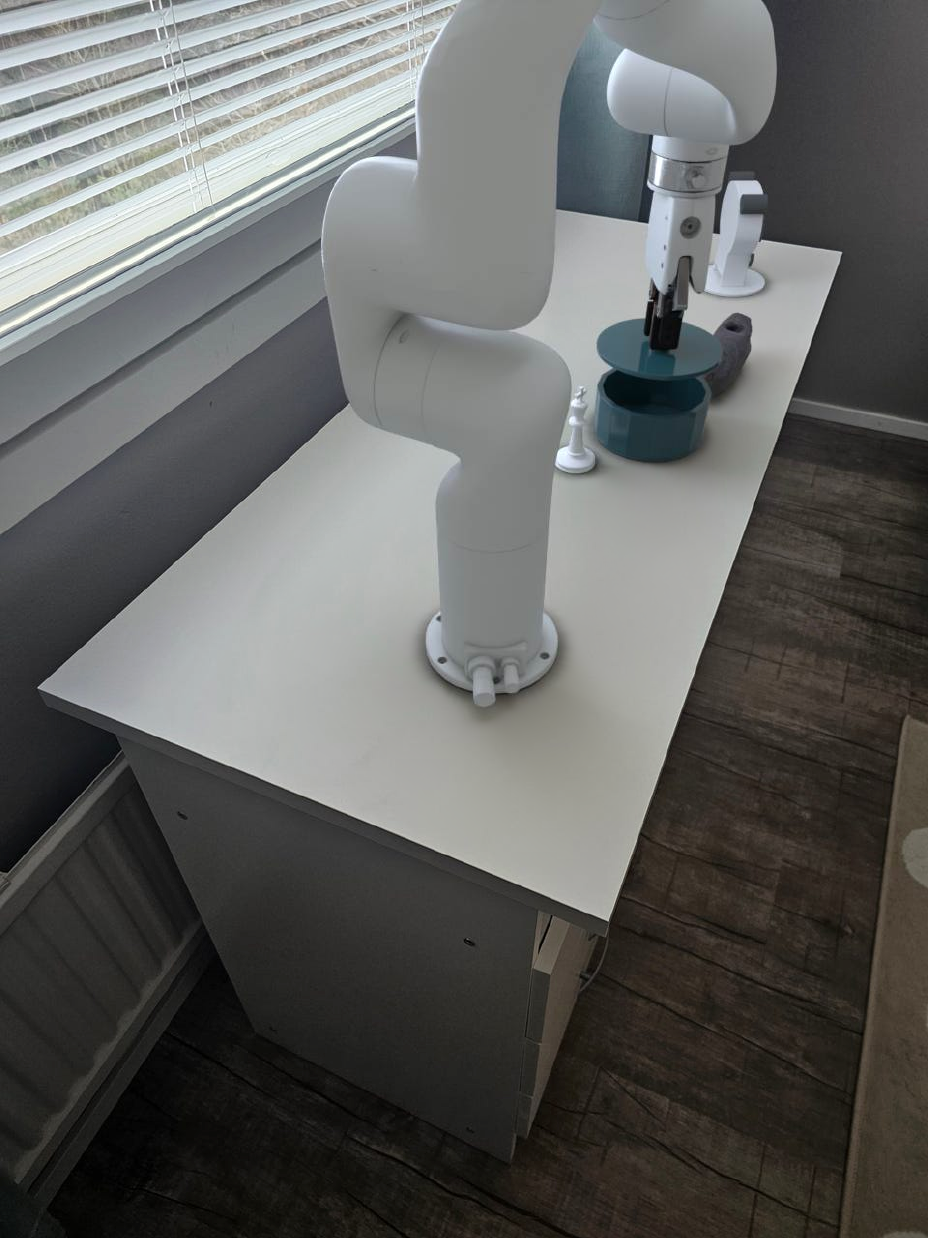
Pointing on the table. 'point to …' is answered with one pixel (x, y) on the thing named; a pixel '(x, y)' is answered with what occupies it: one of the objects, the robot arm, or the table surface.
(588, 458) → the chess piece
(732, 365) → the perforated stone tool
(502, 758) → the table surface
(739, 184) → the white stand
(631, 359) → the bowl lid
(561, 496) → the table surface
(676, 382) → the bowl
